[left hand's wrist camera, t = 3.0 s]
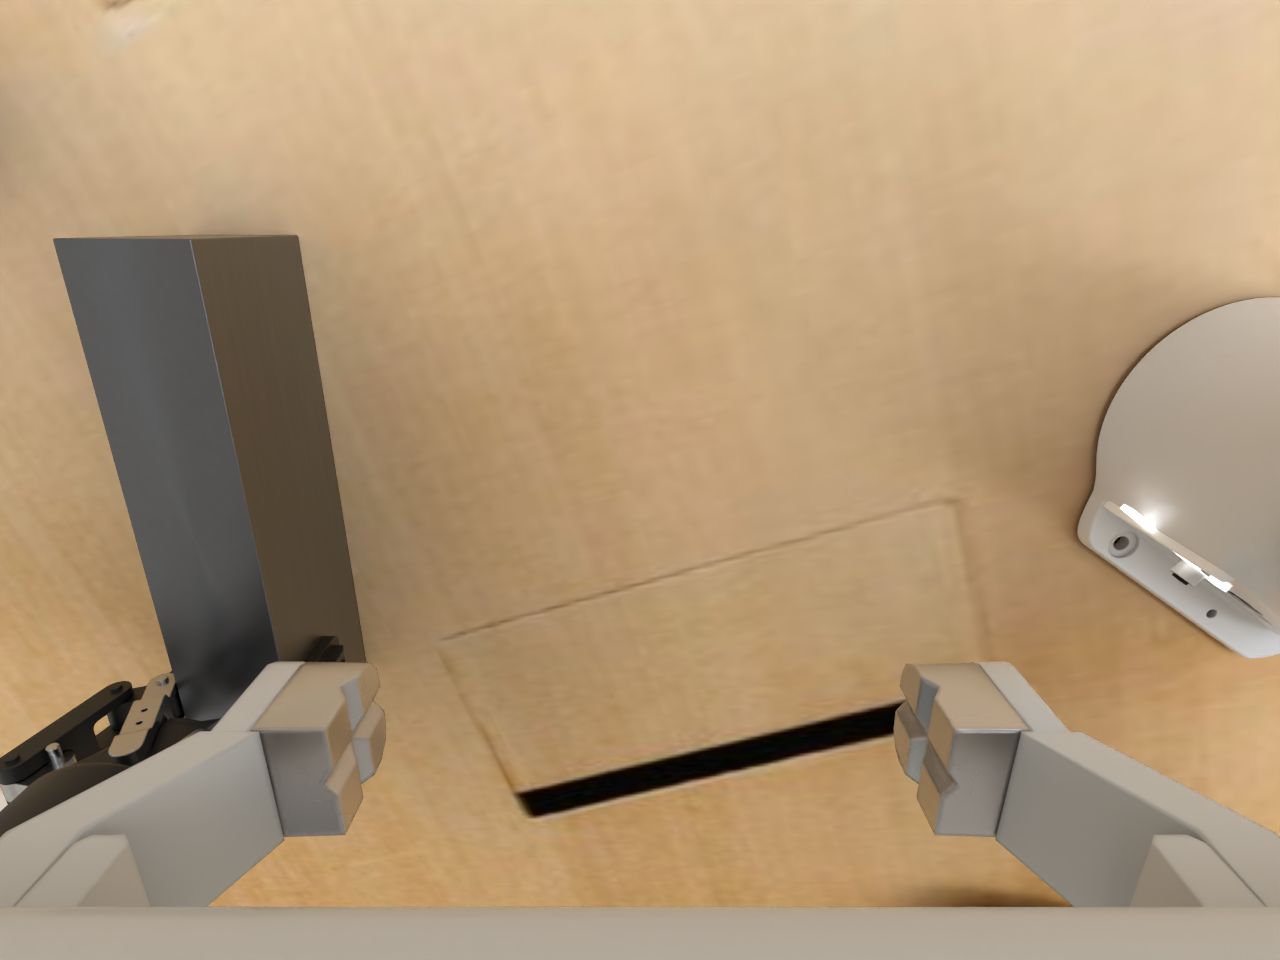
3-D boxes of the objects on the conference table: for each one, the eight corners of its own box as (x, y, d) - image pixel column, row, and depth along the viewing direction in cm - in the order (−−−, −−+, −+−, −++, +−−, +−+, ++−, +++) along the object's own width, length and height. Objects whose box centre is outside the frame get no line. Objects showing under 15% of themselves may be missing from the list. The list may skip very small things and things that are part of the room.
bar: (193, 235, 35) (52, 238, 26) (298, 235, 35) (190, 238, 26) (283, 665, 43) (199, 769, 35) (367, 665, 43) (302, 770, 35)
